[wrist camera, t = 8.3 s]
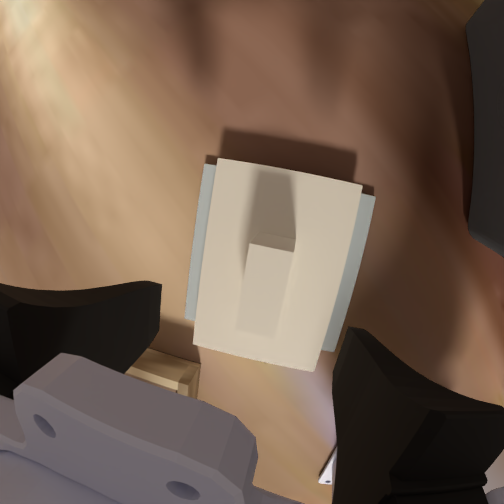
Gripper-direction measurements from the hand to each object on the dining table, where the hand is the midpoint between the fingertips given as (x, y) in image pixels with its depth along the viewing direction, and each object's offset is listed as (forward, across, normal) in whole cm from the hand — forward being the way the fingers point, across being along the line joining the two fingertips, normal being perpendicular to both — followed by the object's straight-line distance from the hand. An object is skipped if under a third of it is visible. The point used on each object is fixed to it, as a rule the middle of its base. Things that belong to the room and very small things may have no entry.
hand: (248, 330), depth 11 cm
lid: (+9, 0, 0) cm, 9 cm away
